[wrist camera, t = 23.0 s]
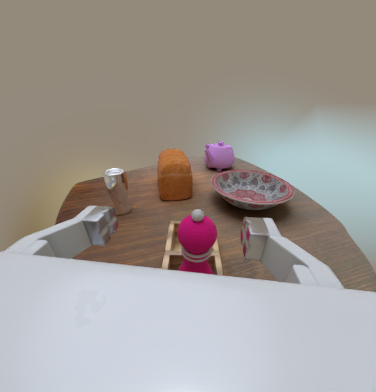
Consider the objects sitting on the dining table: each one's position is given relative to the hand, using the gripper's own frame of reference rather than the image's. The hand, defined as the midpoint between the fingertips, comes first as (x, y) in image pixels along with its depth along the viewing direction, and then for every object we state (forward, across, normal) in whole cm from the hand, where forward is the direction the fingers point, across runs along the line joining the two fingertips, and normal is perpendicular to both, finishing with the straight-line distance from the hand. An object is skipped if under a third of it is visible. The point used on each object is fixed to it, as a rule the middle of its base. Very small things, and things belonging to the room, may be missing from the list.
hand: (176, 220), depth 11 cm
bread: (+61, -14, -28) cm, 69 cm away
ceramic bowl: (+52, +18, -28) cm, 61 cm away
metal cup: (+40, -28, -28) cm, 56 cm away
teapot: (+90, +5, -28) cm, 95 cm away
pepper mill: (+11, +1, -27) cm, 29 cm away
